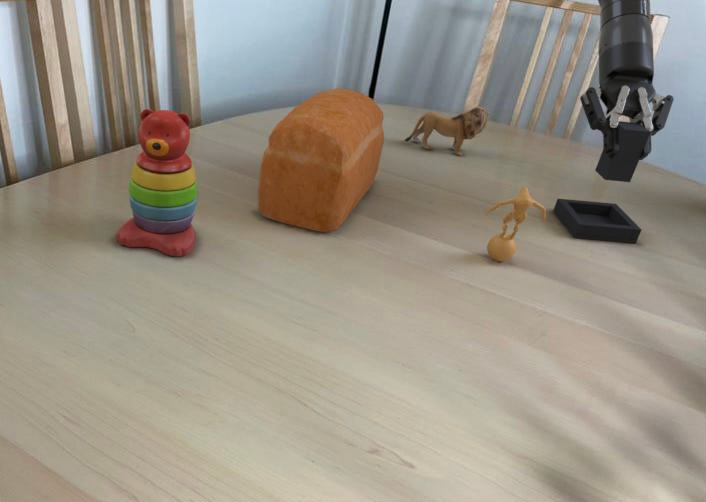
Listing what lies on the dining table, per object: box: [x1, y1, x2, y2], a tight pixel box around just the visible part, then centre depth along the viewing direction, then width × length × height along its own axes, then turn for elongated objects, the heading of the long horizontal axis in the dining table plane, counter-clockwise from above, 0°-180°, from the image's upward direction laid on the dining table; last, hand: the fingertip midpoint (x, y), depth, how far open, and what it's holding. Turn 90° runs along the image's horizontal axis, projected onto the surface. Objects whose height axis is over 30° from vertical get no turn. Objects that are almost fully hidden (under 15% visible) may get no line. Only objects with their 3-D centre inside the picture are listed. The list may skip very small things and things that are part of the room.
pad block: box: [595, 120, 651, 183], centre depth 114 cm, size 4×4×8 cm
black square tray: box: [552, 198, 642, 244], centre depth 121 cm, size 10×10×2 cm
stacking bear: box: [115, 108, 199, 257], centre depth 101 cm, size 11×10×18 cm
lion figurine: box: [403, 106, 490, 156], centre depth 145 cm, size 15×5×9 cm, turn 79°
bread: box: [257, 88, 385, 233], centre depth 118 cm, size 14×26×16 cm, turn 157°
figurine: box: [484, 187, 547, 262], centre depth 105 cm, size 8×6×12 cm
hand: (627, 155), depth 113 cm, fingers closed on pad block, 4 cm apart
